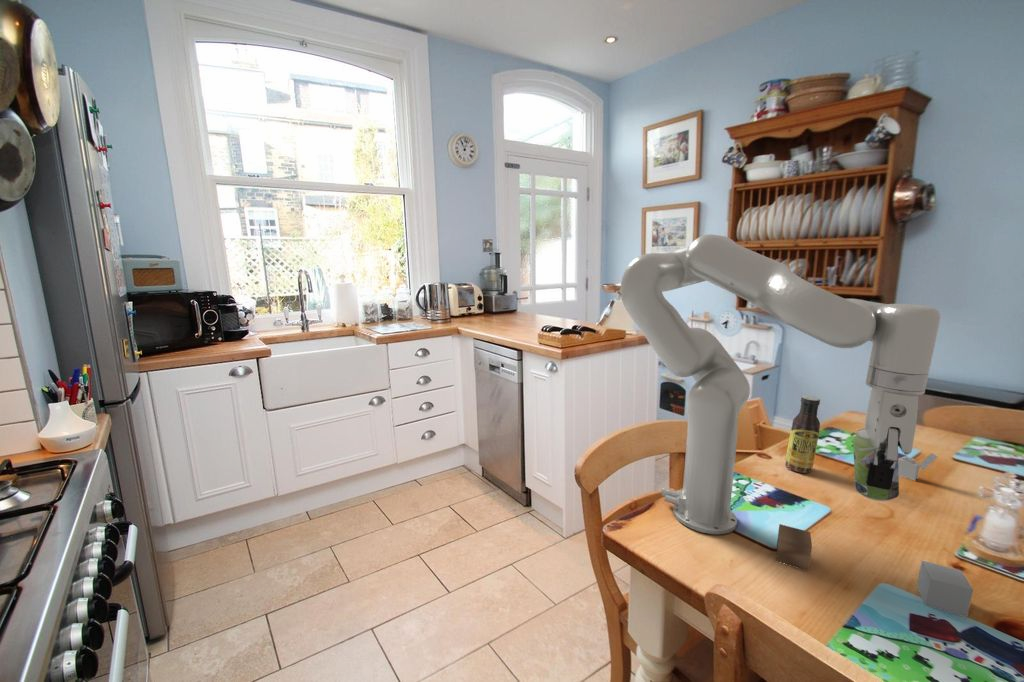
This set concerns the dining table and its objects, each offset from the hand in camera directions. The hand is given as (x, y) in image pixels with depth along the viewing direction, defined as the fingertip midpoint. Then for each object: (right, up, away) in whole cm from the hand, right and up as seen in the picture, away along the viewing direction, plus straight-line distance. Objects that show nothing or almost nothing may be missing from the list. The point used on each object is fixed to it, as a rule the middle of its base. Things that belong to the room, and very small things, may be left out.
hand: (875, 480), depth 78 cm
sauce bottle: (+14, -10, +42) cm, 45 cm away
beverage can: (+1, -3, +2) cm, 4 cm away
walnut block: (-10, -17, +7) cm, 21 cm away
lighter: (+39, -11, +37) cm, 55 cm away
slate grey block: (+8, -19, -3) cm, 21 cm away
